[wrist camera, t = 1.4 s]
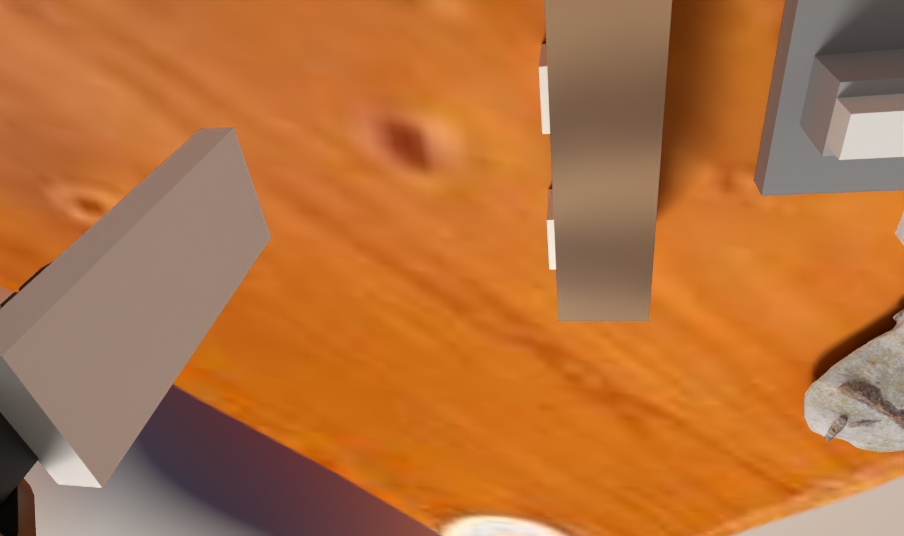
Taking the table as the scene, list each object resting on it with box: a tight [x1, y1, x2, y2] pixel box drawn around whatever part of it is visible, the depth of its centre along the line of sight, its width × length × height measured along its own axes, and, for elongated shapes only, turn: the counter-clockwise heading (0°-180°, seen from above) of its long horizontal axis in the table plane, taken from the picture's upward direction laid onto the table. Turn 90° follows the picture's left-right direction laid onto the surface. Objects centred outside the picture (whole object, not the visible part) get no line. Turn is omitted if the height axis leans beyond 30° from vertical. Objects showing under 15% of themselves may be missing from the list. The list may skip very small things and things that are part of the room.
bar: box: [544, 0, 672, 321], centre depth 23 cm, size 20×4×4 cm, turn 8°
